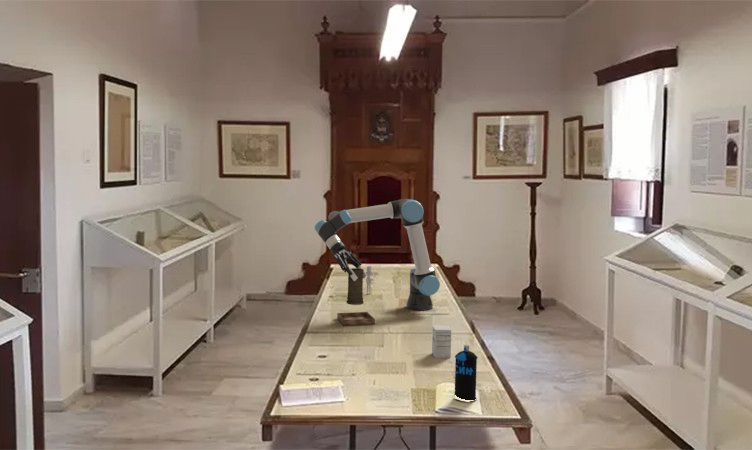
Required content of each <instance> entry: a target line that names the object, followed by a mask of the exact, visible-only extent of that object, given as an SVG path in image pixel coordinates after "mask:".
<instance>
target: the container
mask: <svg viewBox="0 0 752 450" xmlns="http://www.w3.org/2000/svg"><path fill="white" fill-rule="evenodd" d="M351 269H352V271H353V272H354V273H355V274H356V276H357V277H358V278H357V279H356V280H355V281H353V279H352V278H351V277H350V275H349V274H348V273H347V274H348V277H347V278H348V279H347V297H346V304H348V305H352V306H359V305H364V296H363V294H364V292H363V288H364V287H363V285H364V284H363V283H364V279H363V272H365V271H364V269H363V268H362V269H358V268H356V267H355V268H354V267H352V268H351Z"/></svg>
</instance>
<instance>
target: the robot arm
mask: <svg viewBox="0 0 752 450" xmlns="http://www.w3.org/2000/svg"><path fill="white" fill-rule="evenodd" d="M424 213H425V212H424V207H423V205H422V204H421V202H419V201H417V200H415V199H410V198H402V199H398V200H393V201H389V202H388V203H387V204H386V203H385V204H378V205H373V206H372V205H371V206H365V207H357V208H352V209H343V210H333V211H332V212H330V213H329V215H328V220H327V221H326V219H321V220H319V221H318V222H317V223H316V224H315V225H314V230H315V231H316V233H317V235H319V237H320V239H321V240H322V241H323V243H324V244H326V246H327V247H328V249H329V250H330V251H331V253H332V254H333V258H334V259H335V260H336V262H337V263H338V265H339V267H340V268H341V270H342V271H343V272H344V273H346V272H347V274H349V275H350V277H351V278H352V279H353V281H355V280H356V279H357V278H358V277H357V276H356V274H355V273H354V272H353V271H352V268H351V267H350V266H349V264H348V262H349V263H350V264H351V265H352V266H353V267H355V268H358V269H363V268H362V262H361V261H360V260H359V259H358V258H357V257H356V256H355V255H354V254H353V253H352V251H351V250H349V251H347V250H346V245H345V244H344V242H342V240H341V238H340V237H339V236H338V235H337V234H336V233H337V232H339V231H340V230H341V229H342V228H344V227H346V226H348V225H349V224H352V223H359V222H360V223H361V222H367V221H373V220H381V219H387V218H390V219H391V220H392V219H401V223H402V225H403V226H402V227H404V228H405V229H406V232H407V235H408V241H409V245H410V249H411V254H412V259H413V263H414V267H415V268H414V267H413V268H411V269H410V271H409V294H408V298H407V302H406V305H405V307H406V309H409V310H413V311H429V310H432V309H433V307H434V306H433V305H434V304H433V301H432V297H431V296H433V295H435V294H436V293H438V291H439V290H440V286H441V283H440V279H439V278H438V277H437V275H436V270H435V268H434V267H433V266H432V264H431V260H430V256H429V251H428V247H427V242H426V238H425V233H424V229H423V225H424ZM367 277H368V276H367V274H366V272H365V271H364V272H363V280H364V279H366V278H367Z"/></svg>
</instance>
